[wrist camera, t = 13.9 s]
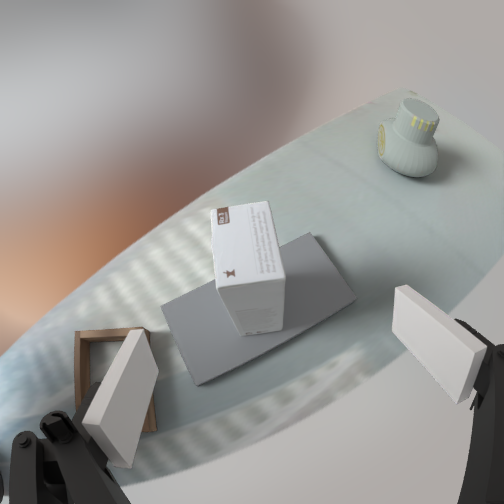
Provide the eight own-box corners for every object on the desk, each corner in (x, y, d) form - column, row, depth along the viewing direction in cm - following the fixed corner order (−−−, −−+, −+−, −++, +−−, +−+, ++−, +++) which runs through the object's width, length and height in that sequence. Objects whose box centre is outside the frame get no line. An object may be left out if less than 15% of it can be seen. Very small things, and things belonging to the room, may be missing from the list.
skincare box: (284, 330, 27) (293, 281, 16) (237, 337, 27) (215, 293, 16) (273, 272, 30) (274, 197, 19) (230, 279, 30) (208, 206, 19)
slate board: (198, 386, 26) (195, 385, 25) (163, 309, 30) (160, 306, 29) (354, 301, 29) (356, 297, 28) (308, 236, 33) (309, 232, 32)
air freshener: (429, 192, 36) (457, 142, 27) (378, 179, 37) (399, 123, 28) (418, 144, 41) (437, 98, 32) (374, 133, 42) (387, 83, 33)
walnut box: (87, 425, 23) (77, 425, 22) (84, 335, 28) (75, 330, 27) (157, 430, 23) (149, 432, 22) (149, 331, 29) (142, 326, 27)
